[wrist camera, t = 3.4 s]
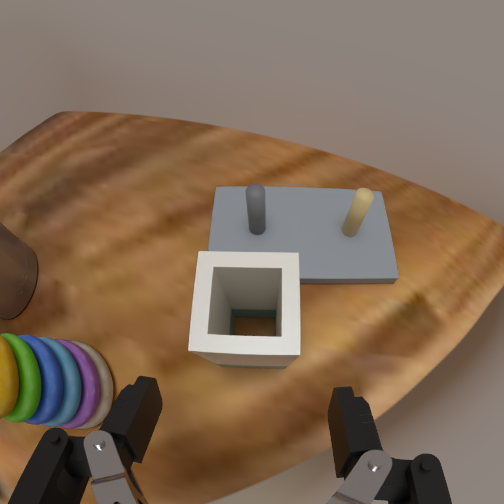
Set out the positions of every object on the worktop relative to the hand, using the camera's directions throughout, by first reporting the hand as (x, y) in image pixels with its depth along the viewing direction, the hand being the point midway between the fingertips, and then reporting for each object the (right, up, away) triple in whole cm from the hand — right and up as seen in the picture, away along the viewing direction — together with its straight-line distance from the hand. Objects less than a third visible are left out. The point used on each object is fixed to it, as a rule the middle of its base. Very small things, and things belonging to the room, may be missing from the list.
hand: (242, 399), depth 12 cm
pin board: (+5, +8, +14) cm, 17 cm away
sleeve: (+1, 0, +10) cm, 10 cm away
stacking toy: (-15, -5, +9) cm, 18 cm away
